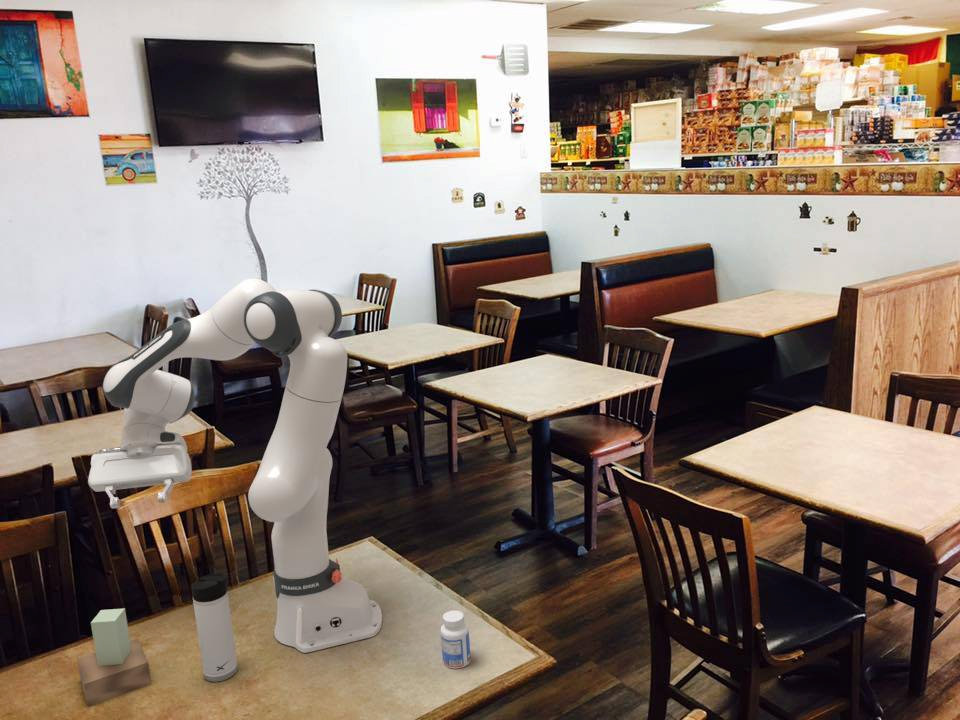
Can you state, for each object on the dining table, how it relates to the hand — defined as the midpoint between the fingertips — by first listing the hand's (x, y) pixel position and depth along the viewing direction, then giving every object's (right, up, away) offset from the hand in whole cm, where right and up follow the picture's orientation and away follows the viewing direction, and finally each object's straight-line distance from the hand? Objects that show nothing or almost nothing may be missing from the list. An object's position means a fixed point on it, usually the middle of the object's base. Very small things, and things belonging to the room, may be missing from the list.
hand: (138, 504), depth 161 cm
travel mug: (+21, -31, -11) cm, 39 cm away
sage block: (+1, -27, -13) cm, 30 cm away
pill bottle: (+66, -28, -11) cm, 73 cm away
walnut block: (+1, -32, -12) cm, 34 cm away
